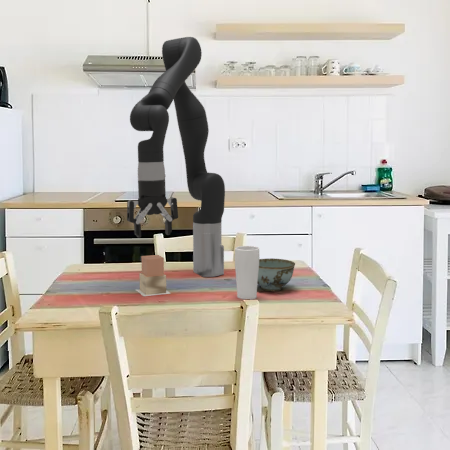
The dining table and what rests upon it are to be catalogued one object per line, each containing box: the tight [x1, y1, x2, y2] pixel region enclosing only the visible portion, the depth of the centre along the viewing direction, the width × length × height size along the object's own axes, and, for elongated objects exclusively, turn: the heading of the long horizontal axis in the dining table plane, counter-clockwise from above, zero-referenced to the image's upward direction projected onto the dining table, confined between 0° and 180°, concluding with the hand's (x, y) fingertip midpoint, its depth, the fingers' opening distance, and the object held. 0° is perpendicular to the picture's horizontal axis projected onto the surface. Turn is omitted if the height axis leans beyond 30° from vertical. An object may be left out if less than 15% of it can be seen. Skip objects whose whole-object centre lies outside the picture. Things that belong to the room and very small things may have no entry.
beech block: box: [139, 272, 167, 295], centre depth 190 cm, size 6×6×5 cm
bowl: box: [257, 258, 296, 292], centre depth 199 cm, size 14×13×8 cm
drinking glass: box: [234, 245, 260, 300], centre depth 184 cm, size 7×7×15 cm
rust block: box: [140, 254, 165, 277], centre depth 190 cm, size 5×5×5 cm
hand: (153, 235), depth 188 cm, fingers open, 8 cm apart
